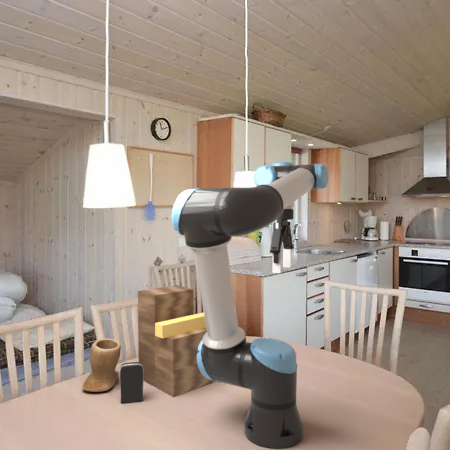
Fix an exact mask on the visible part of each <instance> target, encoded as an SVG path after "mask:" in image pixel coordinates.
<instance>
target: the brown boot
mask: <svg viewBox="0 0 450 450" xmlns="http://www.w3.org/2000/svg"><path fill="white" fill-rule="evenodd" d="M121 349H122V345H121V344H120V342H119V341H117V340H115V339H112V338H107V337H106V338H100V339H97V340H95V341H94V342H93V343H92V345H91V348H90V354H89V362H90V363H89V364H90V367H91V372H90V373H89V375H87V377H86V379H85V380H84V381H83V384H82V385H81V386H82V387H81V388H82V389H83V391H86V392H93V393H96V392H97V393H99V392H100V393H101V392H106V391H109V390H111V389H112V387H113V386H114V384H115V383H116V381H117V379H118V377H119V376H120V372H118V371H117V370H116V367H117V365H118V362H119V360H120V357H121Z"/></svg>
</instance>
